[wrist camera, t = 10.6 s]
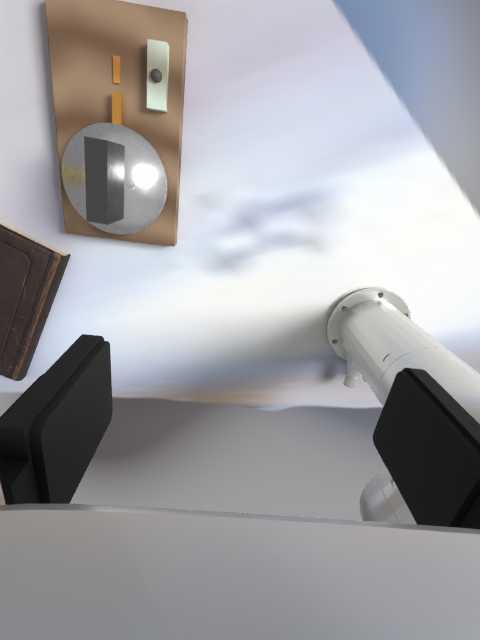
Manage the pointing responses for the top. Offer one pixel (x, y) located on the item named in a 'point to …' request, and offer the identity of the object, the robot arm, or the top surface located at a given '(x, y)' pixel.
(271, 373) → the top surface
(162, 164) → the cam dial
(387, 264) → the top surface
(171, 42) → the levelling base
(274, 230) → the top surface
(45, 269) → the hardcover book
